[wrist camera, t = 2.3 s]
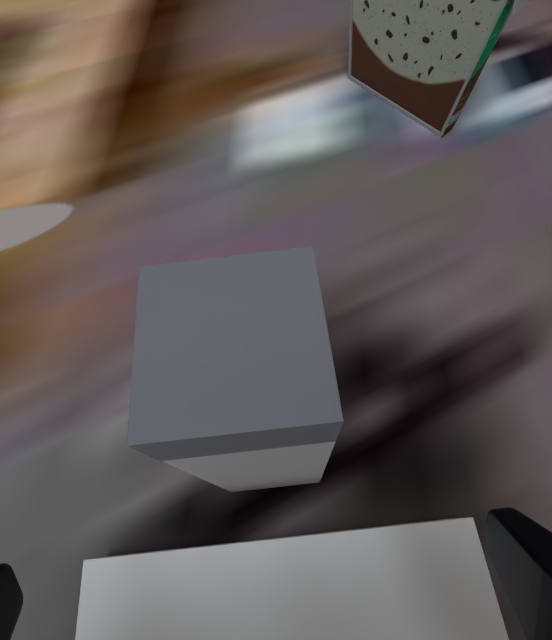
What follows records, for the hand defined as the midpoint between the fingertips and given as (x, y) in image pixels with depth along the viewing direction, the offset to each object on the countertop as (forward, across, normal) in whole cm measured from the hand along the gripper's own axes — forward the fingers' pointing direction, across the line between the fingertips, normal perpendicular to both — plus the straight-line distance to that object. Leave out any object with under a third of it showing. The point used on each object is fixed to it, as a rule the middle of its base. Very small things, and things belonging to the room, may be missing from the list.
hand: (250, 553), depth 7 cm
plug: (+10, 0, +5) cm, 11 cm away
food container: (+28, -14, -12) cm, 34 cm away
